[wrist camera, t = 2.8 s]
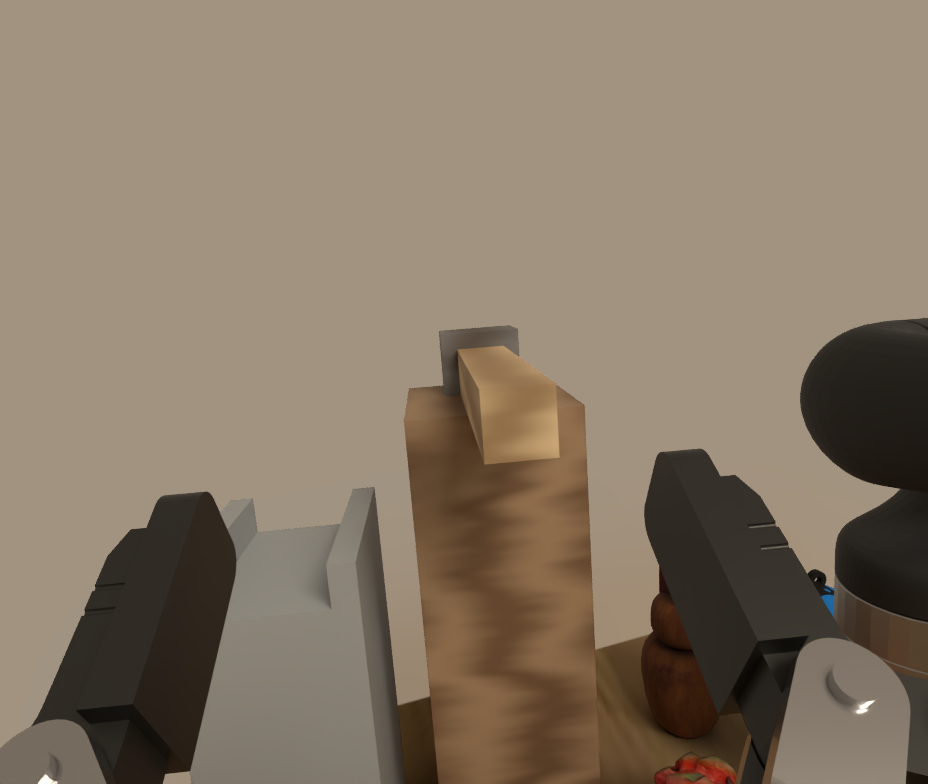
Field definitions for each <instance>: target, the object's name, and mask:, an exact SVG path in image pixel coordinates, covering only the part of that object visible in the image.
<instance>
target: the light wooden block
mask: <svg viewBox="0 0 928 784" xmlns="http://www.w3.org/2000/svg"><path fill="white" fill-rule="evenodd" d="M439 336H440V348H441V361H442V372H443V384H444V391H445V396H456V395H461V397H462V400H463V403H464V406H465V409H466V412H467V415H468V417H469V420H470V423H471V426H472V429H473V432H474V435H475V438H476V441H477V444H478V447H479V450H480V452H481V455H482V458H483V461H484V464H496V463H506V462H517V461H528V460H539V459H550V458H560V456H559V436H558V417H557V397H556V383H554V382H553V381H552V380H550V379H549V378H548V377H546V376H545V375H544V374H542V373H541V372H539V371H538V370H537V369H535V368H534V367H532V366H531V365H530V364H528V363H527V362H525V361H524V360H522V359H521V358H520V357H519V343H518V329H516V328H514V327H512V326H495V327H483V328H472V329H458V330H446V331H439Z"/></svg>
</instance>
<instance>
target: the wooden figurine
mask: <svg viewBox="0 0 928 784" xmlns="http://www.w3.org/2000/svg"><path fill="white" fill-rule="evenodd" d="M659 590H660V591H659V592H660V593H659V594H658V595H657V596H656V597H655V598H654V600H653V602H652V606H651V626H652V629H653V632H652V633H651V634H650V635H649V637H648V638H647V639H646V641H645V643H644V646H643V649H642V658H641V667H642V676H643V681H644V687H645V693H646V696H647V700H648V703H649V705H650V708H651V710H652V713H653V715H654V717H655V719H656V720H657V721H658V722H659V724H660V725H661V726H662V727H664V728H665V729H666V730H668V731H669V732H670V733H672V734H674V735H677V736H679V737H683V738H690V739H691V738H695V737H699V736H702V735H704V734H706V733H708V732H710V731H711V729H712V727H713V726H714V724H715V723H716V721H717V719H718V717H719V715H718V713H717V711H716V708H715V706H714V703H713V701H712V698H711V695H710V693H709V690H708V688H707V685H706V683H705V680H704V678H703V675H702V673H701V670H700V668H699V665H698V663H697V660H696V657H695V655H694V652H693V650H692V647H691V645H690V642H689V640H688V637H687V635H686V632H685V630H684V627H683V625H682V622H681V619H680V617H679V614H678V612H677V609H676V607H675V604H674V602H673V599H672V597H671V594H670V592H669V589H668V586H667V584H666V581H665V579H664V576H663V574H662V571H661V569H660V567H659Z"/></svg>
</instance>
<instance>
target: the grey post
mask: <svg viewBox="0 0 928 784" xmlns="http://www.w3.org/2000/svg"><path fill="white" fill-rule="evenodd" d="M220 514H221V516H222V518H223V521H224V523H225V525H226V527H227V529H228V532H229V534H230V536H231V538H232V540H233V543H234V546H235V551H236V576H235V581H234V585H233V589H232V594H231V598H230V602H229V607H228V611H227V615H226V620H225V624H224V628H223V633H222V637H221V641H220V645H219V650H218V654H217V658H216V663H215V667H214V671H213V676H212V680H211V684H210V689H209V693H208V697H207V702H206V706H205V710H204V715H203V719H202V723H201V727H200V732H199V736H198V740H197V745H196V749H195V753H194V758H193V762H192V766H191V771H190V775H191V781H192V784H405V771H404V762H403V752H402V743H401V734H400V724H399V715H398V705H397V696H396V686H395V677H394V668H393V659H392V649H391V639H390V630H389V620H388V611H387V601H386V593H385V583H384V573H383V564H382V554H381V545H380V535H379V526H378V517H377V508H376V498H375V489H374V487H370V488H359V489H353V491H352V494H351V496H350V499H349V502H348V505H347V508H346V510H345V513H344V516H343V519H342V522H341V524H337V525H326V526H315V527H306V528H295V529H284V530H274V531H264V532H257V525H256V518H255V511H254V504H253V499H241V500H232V501H230V502H229V503H228V505H227V506H226V507H225V508H224V509H223V510H222V511H221V512H220Z"/></svg>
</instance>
